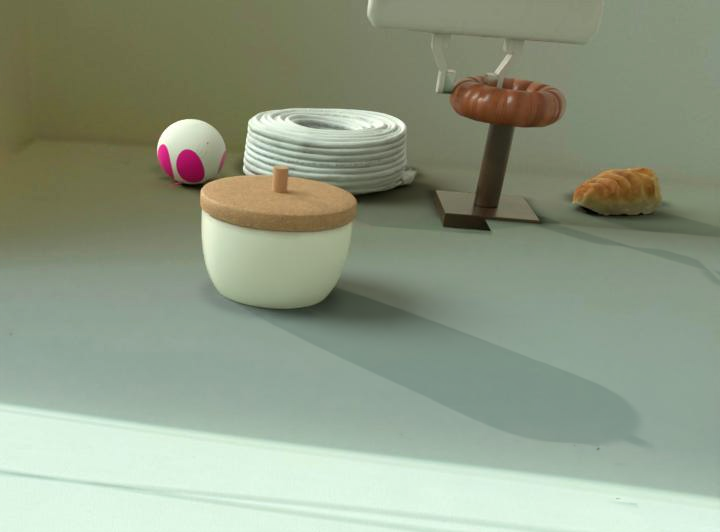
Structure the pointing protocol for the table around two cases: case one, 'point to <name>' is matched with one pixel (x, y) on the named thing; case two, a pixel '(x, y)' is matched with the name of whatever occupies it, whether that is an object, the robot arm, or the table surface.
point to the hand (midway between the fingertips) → (466, 94)
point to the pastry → (620, 192)
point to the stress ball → (191, 151)
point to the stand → (486, 190)
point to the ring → (508, 102)
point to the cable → (330, 147)
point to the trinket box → (275, 238)
